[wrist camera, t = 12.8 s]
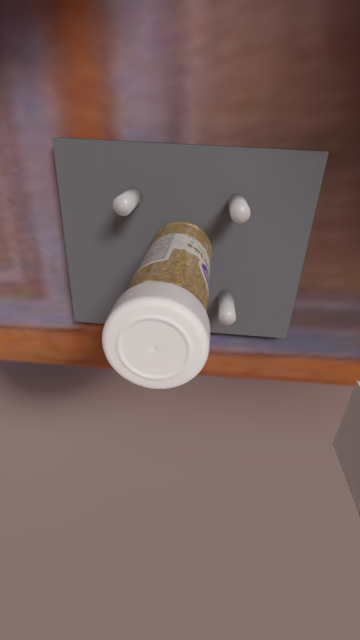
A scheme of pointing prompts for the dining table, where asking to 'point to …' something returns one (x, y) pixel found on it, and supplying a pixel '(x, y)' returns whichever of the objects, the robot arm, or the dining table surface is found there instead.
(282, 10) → the dining table surface
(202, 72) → the dining table surface
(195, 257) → the sprinkles bottle
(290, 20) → the dining table surface
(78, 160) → the pin tray
